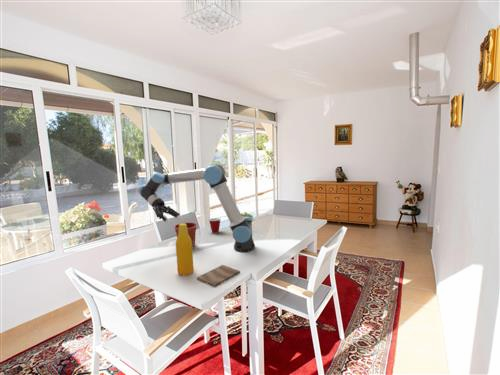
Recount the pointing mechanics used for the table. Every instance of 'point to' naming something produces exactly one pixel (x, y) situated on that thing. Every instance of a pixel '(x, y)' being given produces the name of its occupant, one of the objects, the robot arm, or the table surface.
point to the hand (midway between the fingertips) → (176, 223)
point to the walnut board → (218, 275)
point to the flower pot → (191, 231)
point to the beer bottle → (184, 251)
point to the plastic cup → (215, 224)
